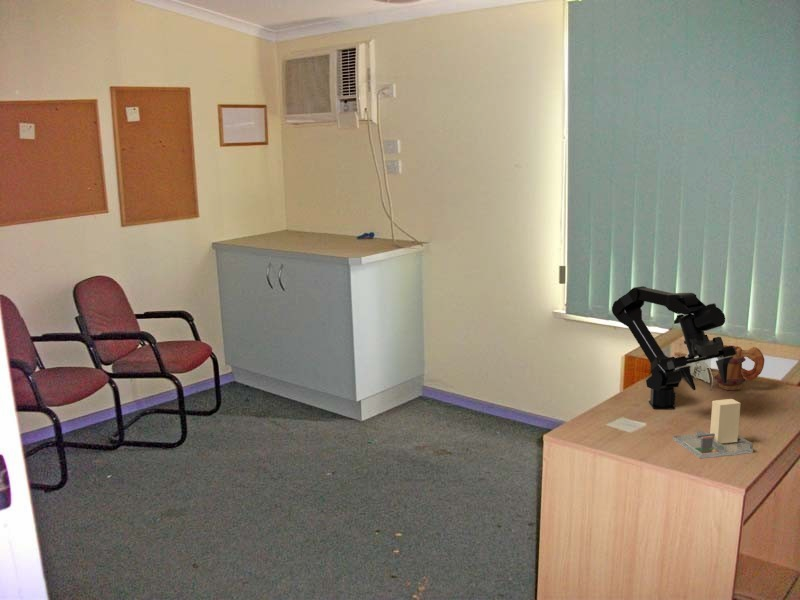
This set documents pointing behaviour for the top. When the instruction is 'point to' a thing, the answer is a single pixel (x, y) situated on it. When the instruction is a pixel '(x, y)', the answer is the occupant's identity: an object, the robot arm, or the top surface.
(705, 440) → the drag pointer
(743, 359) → the mug
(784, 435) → the top surface
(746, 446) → the gauge frame
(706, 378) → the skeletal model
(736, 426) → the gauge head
